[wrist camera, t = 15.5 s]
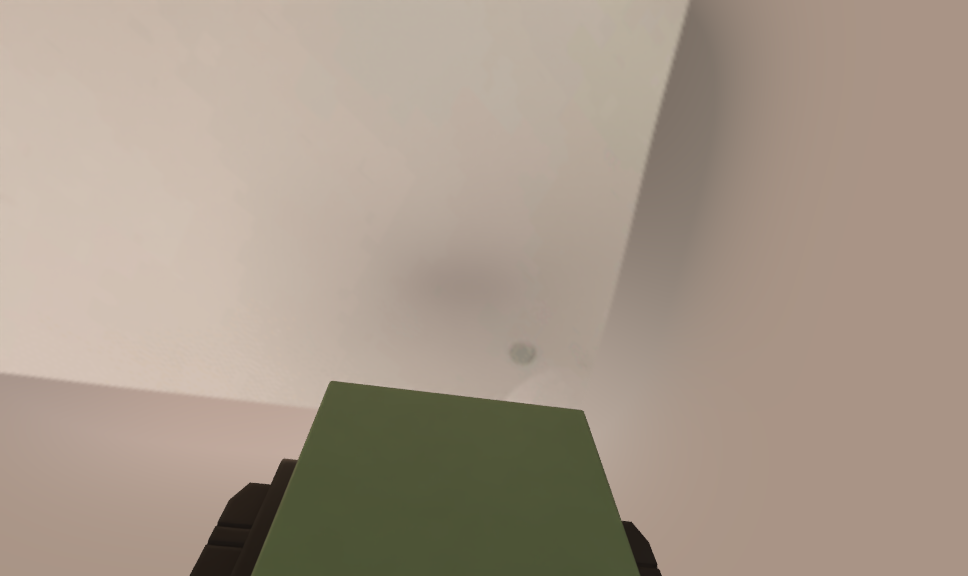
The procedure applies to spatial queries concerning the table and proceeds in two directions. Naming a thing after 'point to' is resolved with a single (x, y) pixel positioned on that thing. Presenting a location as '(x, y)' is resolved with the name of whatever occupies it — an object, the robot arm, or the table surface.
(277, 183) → the table surface
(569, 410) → the block
